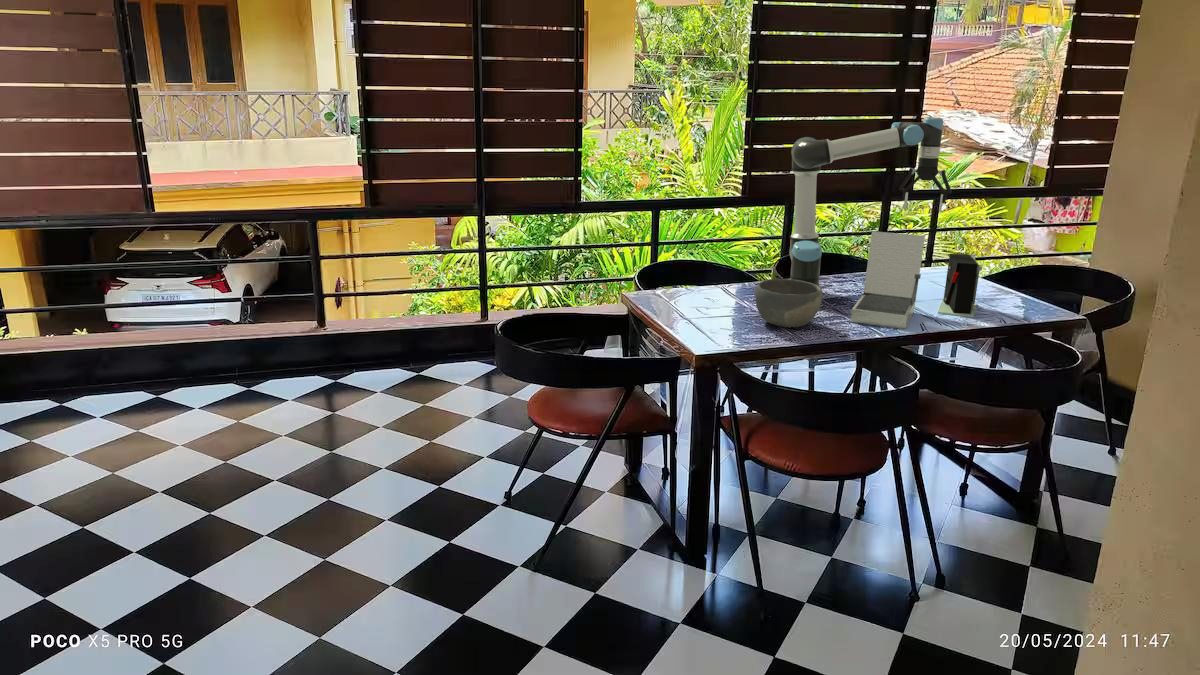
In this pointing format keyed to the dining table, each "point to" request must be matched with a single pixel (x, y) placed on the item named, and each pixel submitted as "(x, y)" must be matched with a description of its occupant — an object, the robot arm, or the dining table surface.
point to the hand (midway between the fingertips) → (922, 209)
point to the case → (890, 280)
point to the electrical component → (961, 283)
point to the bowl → (788, 301)
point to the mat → (947, 310)
